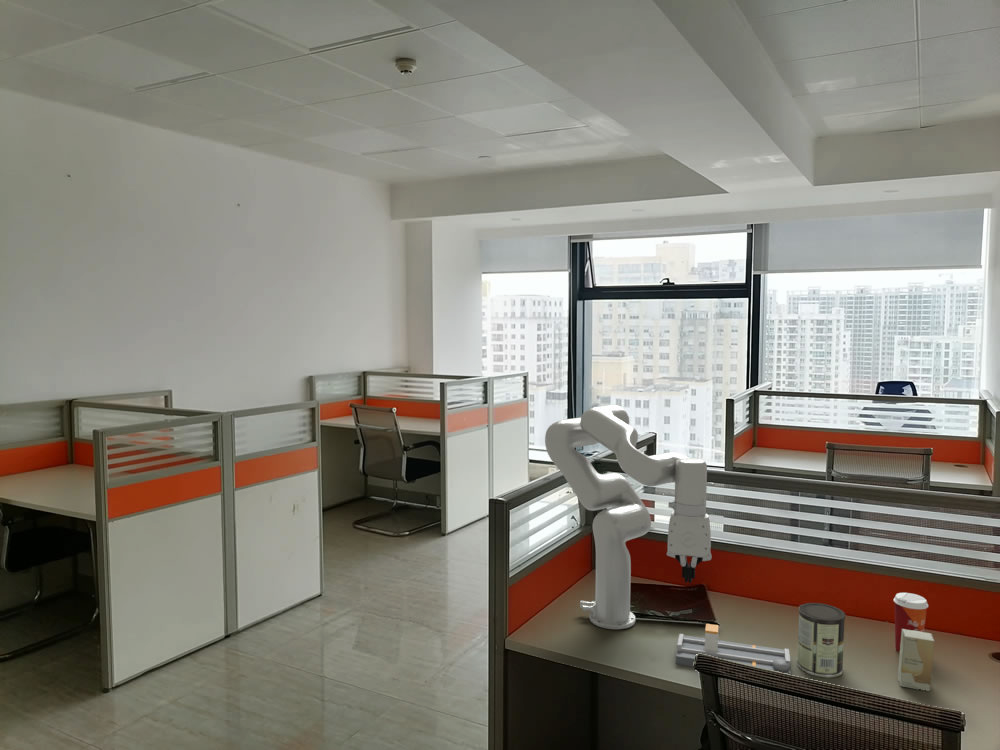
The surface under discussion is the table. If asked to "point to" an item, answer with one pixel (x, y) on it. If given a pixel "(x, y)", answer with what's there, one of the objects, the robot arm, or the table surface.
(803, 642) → the coffee can
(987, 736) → the table surface
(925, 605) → the paper cup
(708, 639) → the fader
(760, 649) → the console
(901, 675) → the skincare box
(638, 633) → the table surface
